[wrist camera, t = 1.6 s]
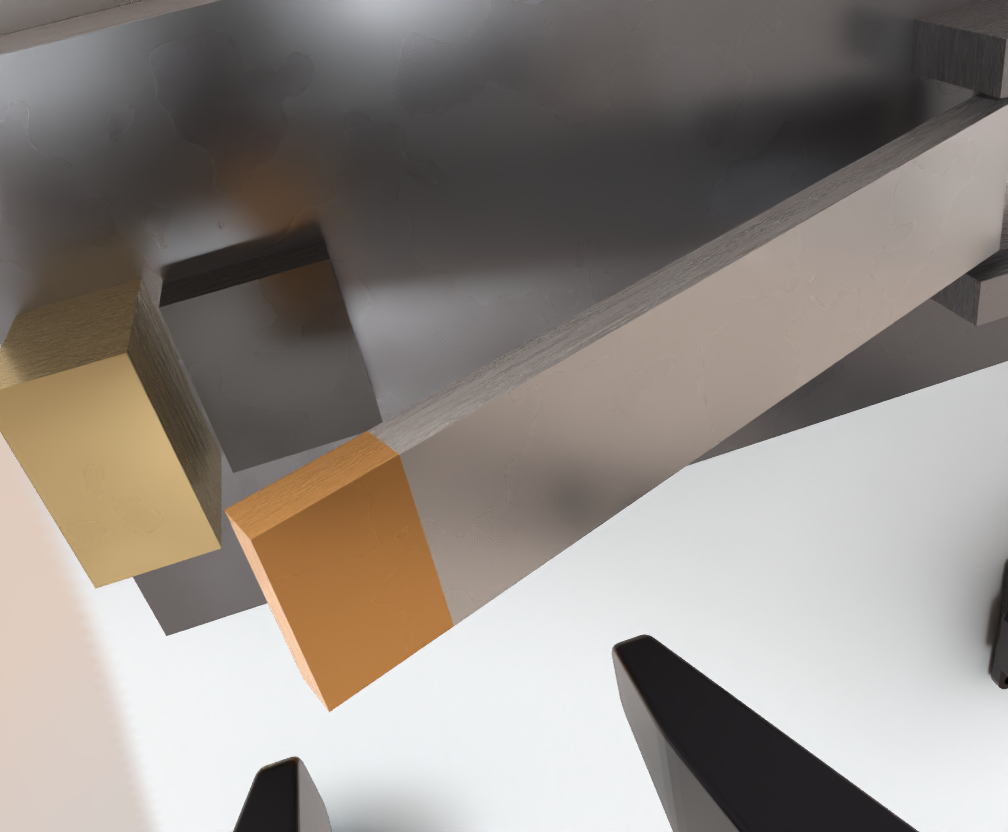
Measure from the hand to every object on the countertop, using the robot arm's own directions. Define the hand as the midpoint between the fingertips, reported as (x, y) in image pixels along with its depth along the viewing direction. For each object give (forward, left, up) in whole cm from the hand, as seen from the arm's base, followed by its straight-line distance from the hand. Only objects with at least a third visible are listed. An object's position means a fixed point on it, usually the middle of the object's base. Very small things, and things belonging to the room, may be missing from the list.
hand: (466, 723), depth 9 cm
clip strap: (-6, 0, -6) cm, 8 cm away
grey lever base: (-5, 0, -13) cm, 14 cm away
